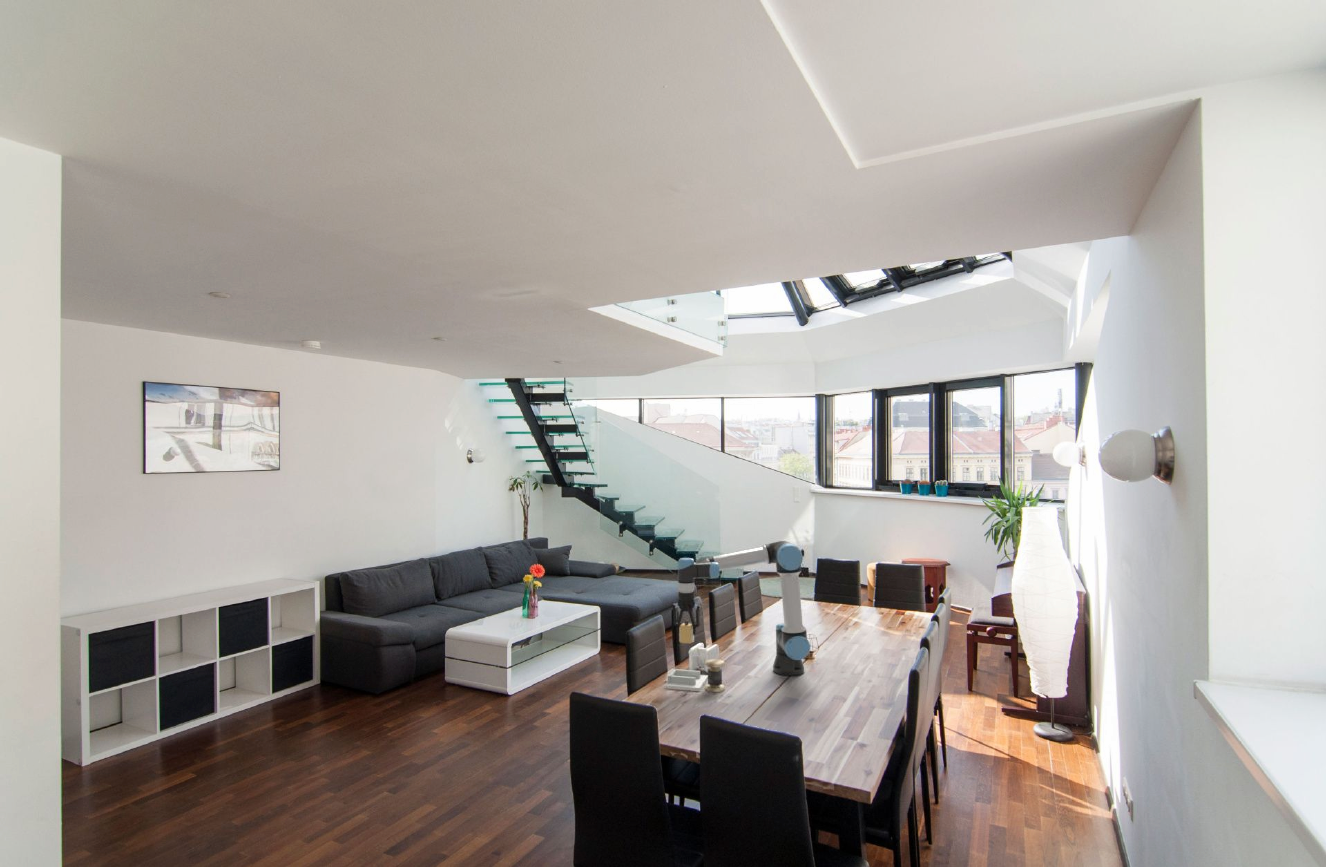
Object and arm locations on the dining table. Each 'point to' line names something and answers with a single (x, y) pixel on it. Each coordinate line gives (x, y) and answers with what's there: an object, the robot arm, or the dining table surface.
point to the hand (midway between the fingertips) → (686, 641)
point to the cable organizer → (702, 656)
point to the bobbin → (714, 676)
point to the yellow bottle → (685, 632)
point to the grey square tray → (686, 680)
